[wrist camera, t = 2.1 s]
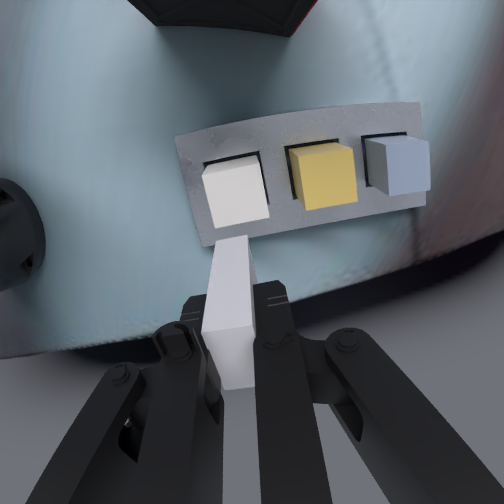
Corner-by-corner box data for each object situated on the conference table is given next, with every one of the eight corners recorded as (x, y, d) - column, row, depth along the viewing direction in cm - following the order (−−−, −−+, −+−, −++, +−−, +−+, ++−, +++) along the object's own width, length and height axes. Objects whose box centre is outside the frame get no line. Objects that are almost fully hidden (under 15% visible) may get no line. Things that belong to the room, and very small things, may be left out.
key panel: (204, 239, 34) (202, 247, 33) (177, 135, 29) (173, 136, 27) (417, 200, 33) (425, 205, 31) (410, 101, 28) (419, 102, 26)
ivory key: (218, 210, 31) (215, 228, 27) (207, 165, 29) (201, 175, 25) (265, 201, 31) (269, 217, 26) (256, 155, 29) (259, 163, 24)
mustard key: (296, 195, 31) (306, 210, 26) (288, 149, 29) (297, 156, 24) (340, 187, 30) (357, 201, 26) (335, 142, 28) (352, 148, 24)
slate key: (368, 183, 30) (389, 196, 26) (364, 138, 28) (385, 144, 24) (406, 177, 30) (430, 189, 26) (403, 135, 28) (428, 141, 23)
